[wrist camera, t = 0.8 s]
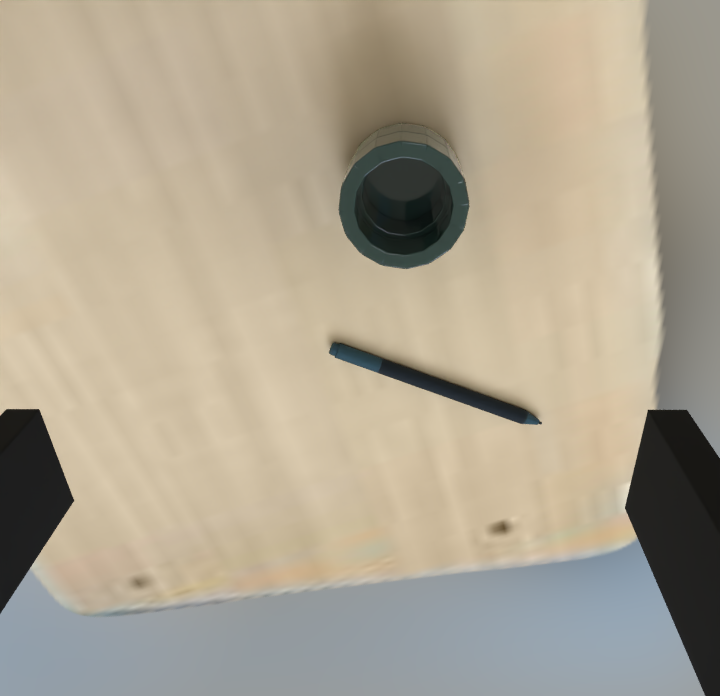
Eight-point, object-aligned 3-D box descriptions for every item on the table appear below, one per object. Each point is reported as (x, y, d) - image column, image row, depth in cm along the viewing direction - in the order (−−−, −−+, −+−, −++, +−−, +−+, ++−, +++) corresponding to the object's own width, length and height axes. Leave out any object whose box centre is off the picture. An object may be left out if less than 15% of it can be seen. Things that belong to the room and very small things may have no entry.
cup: (334, 139, 34) (323, 161, 29) (447, 107, 33) (454, 125, 28) (364, 244, 37) (358, 280, 32) (469, 219, 36) (479, 252, 31)
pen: (536, 423, 43) (539, 434, 42) (329, 350, 41) (327, 359, 40) (544, 412, 43) (547, 422, 42) (334, 337, 41) (332, 346, 40)
